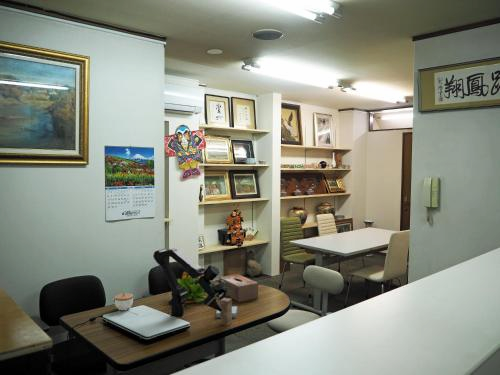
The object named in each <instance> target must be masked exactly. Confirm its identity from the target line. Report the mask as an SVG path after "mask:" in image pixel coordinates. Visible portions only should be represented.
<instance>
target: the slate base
mask: <svg viewBox="0 0 500 375" xmlns="http://www.w3.org/2000/svg"><path fill="white" fill-rule="evenodd" d="M237 314H238V306H237V305H236V306H233V305H232V319H233V318H235V319H236V318H237ZM215 318H220V311H218V310H216V312H215Z"/></svg>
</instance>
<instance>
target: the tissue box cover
mask: <svg viewBox="0 0 500 375" xmlns="http://www.w3.org/2000/svg"><path fill="white" fill-rule="evenodd" d="M218 280H219V281H221V280H223V281H224V282H225V283H226V284H225V286H226V288H227V289H228V290H227V291H228V292H227V297H228V298H230V299H232V300H234V301H237V302H239V303H241V302H246V301H249V300H250V301H251V300H254V299H258V298H259V282H257V281H255V280H252V279H250V278H248V277H245V276H244V275H241V274H239V273H237V274H231V275H230V274H229V275H226V276H225V275H223V276H219V278H218ZM219 281H218V282H219Z"/></svg>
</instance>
